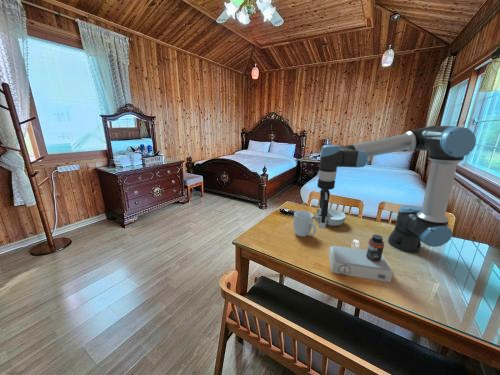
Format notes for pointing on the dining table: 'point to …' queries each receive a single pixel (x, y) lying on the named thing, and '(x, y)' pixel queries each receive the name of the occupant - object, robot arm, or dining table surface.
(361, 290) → the dining table surface
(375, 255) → the supplement bottle
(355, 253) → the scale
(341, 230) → the dining table surface
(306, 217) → the mug
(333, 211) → the cereal bowl
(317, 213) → the game die
